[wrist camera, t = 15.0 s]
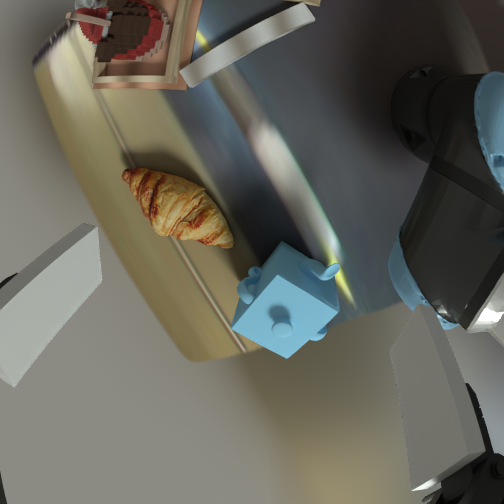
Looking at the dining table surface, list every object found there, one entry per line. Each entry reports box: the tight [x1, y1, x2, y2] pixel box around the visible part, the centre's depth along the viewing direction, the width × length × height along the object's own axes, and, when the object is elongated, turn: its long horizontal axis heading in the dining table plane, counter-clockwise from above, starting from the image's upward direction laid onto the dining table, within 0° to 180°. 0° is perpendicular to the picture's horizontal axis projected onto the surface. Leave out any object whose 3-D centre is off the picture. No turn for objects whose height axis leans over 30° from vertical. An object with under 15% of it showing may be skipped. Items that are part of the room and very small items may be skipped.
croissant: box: [122, 168, 234, 248], centre depth 45 cm, size 21×10×8 cm, turn 56°
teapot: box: [231, 241, 340, 358], centre depth 45 cm, size 18×16×13 cm
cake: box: [66, 0, 171, 63], centre depth 27 cm, size 11×9×18 cm
